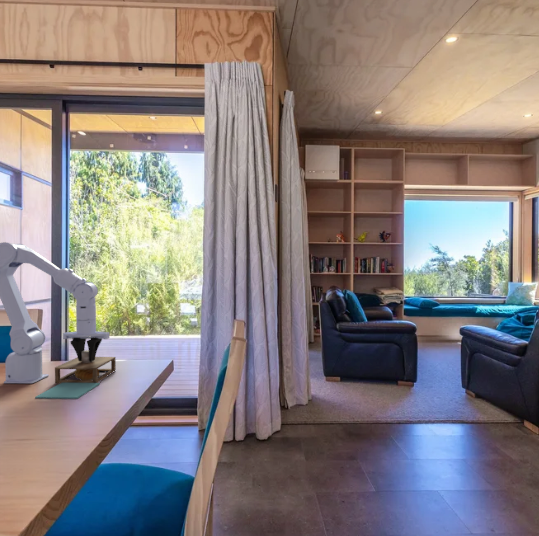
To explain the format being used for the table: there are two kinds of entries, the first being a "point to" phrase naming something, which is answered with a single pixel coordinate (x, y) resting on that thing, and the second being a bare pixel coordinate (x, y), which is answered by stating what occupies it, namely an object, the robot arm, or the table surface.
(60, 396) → the mat
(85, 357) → the cover
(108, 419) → the table surface
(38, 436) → the table surface
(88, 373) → the pastry
